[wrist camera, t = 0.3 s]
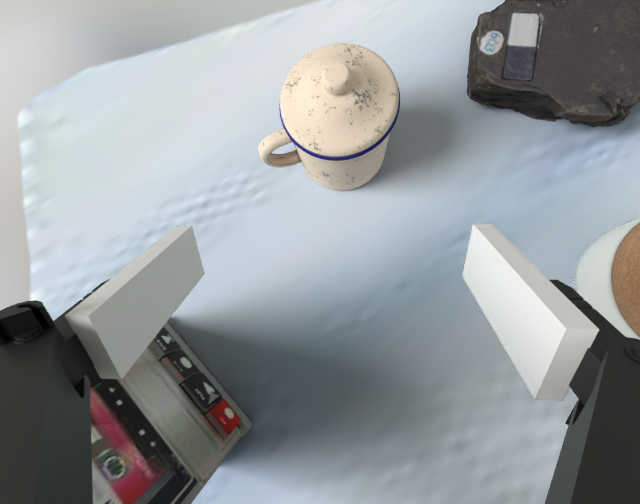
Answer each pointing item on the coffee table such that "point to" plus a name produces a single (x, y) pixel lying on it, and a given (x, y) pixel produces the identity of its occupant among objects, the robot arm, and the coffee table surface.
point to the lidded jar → (613, 277)
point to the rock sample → (558, 59)
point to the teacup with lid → (336, 116)
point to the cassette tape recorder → (160, 427)
